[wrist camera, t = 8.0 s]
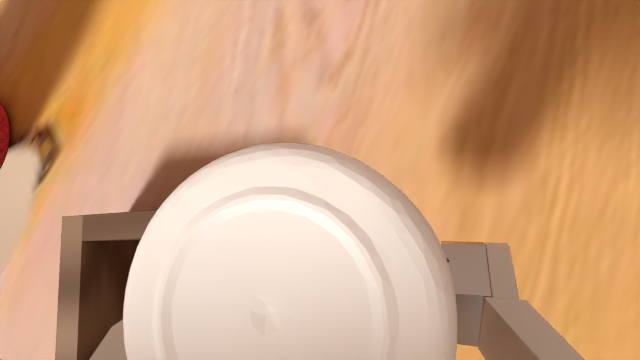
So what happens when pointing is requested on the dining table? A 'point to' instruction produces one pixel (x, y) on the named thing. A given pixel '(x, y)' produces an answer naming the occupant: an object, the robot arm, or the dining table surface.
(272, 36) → the dining table surface
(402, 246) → the sprinkles bottle
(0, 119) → the wine bottle
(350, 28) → the dining table surface
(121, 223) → the rail
